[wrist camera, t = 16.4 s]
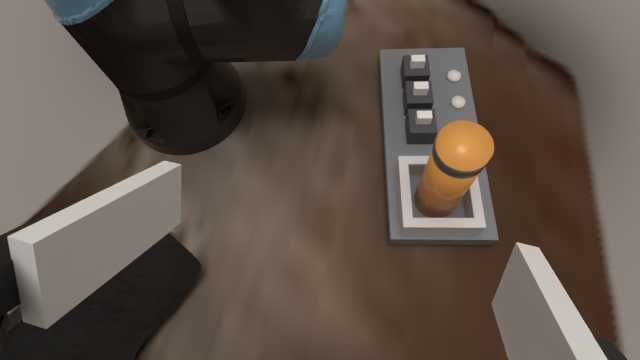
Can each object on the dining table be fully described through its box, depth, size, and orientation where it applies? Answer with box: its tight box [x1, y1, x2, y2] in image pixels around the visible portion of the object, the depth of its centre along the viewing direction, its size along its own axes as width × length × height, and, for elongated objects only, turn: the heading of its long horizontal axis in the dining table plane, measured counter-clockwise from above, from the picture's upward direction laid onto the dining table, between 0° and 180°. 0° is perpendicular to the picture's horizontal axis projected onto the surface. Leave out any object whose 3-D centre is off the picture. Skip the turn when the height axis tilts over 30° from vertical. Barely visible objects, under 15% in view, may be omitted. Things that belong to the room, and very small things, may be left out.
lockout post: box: [414, 120, 494, 218], centre depth 36 cm, size 4×4×12 cm
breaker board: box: [378, 48, 499, 245], centre depth 44 cm, size 26×11×6 cm, turn 179°
